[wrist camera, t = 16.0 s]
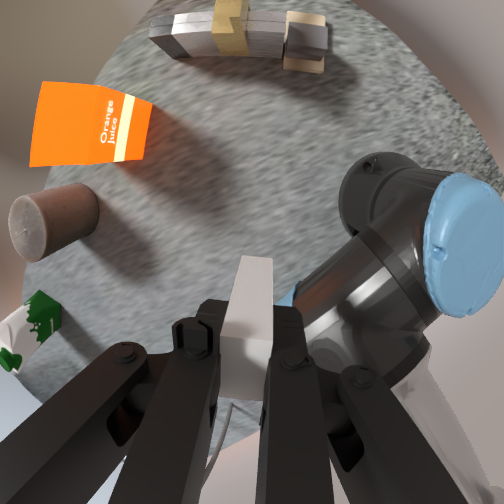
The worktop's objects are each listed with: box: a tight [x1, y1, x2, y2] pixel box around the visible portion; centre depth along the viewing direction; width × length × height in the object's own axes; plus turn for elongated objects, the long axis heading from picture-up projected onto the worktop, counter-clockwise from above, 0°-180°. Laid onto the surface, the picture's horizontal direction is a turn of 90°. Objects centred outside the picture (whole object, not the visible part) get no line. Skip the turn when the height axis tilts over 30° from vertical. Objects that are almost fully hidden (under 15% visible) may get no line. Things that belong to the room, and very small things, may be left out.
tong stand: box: [283, 11, 328, 74], centre depth 27 cm, size 6×10×6 cm, turn 176°
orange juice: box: [30, 82, 152, 167], centre depth 27 cm, size 8×9×20 cm
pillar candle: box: [8, 183, 99, 263], centre depth 34 cm, size 10×10×15 cm
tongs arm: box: [150, 11, 286, 28], centre depth 27 cm, size 16×2×9 cm, turn 86°
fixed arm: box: [148, 21, 285, 59], centre depth 27 cm, size 16×2×9 cm, turn 86°
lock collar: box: [211, 0, 251, 56], centre depth 23 cm, size 4×6×12 cm, turn 176°
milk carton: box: [0, 290, 61, 374], centre depth 40 cm, size 9×9×20 cm
